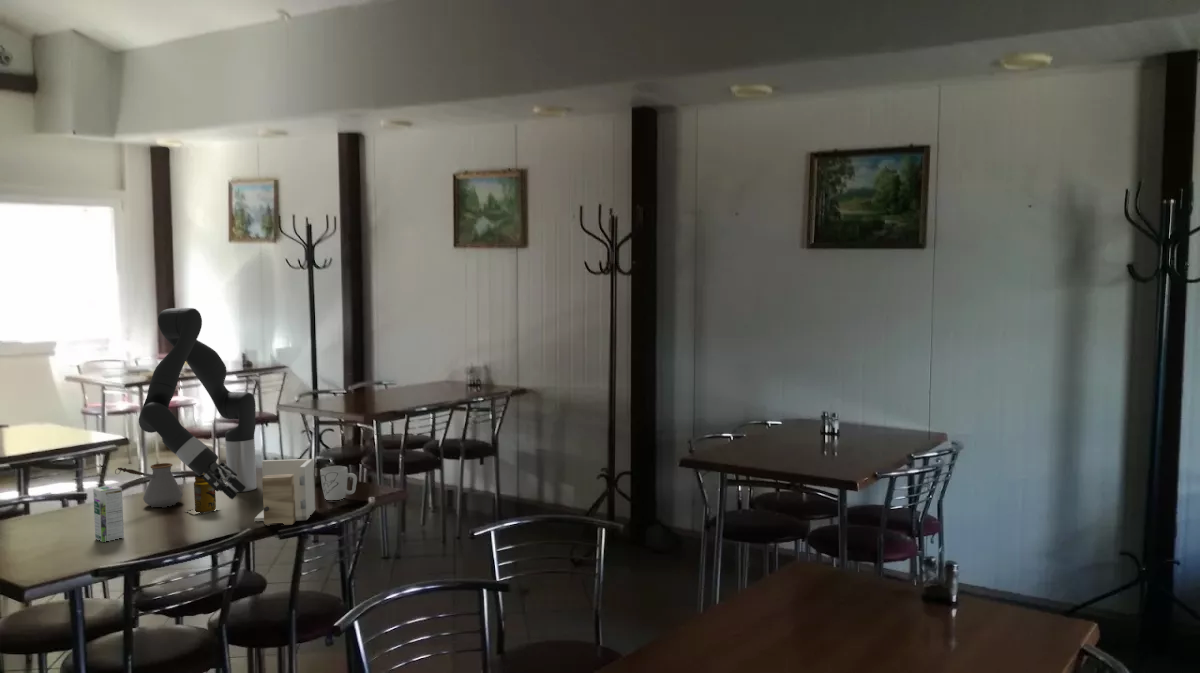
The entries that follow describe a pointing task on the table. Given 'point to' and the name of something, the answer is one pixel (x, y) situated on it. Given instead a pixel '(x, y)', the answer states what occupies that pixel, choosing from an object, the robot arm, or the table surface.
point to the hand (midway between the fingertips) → (239, 493)
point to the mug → (336, 482)
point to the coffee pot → (159, 486)
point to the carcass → (295, 483)
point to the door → (279, 499)
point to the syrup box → (108, 513)
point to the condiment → (203, 495)
